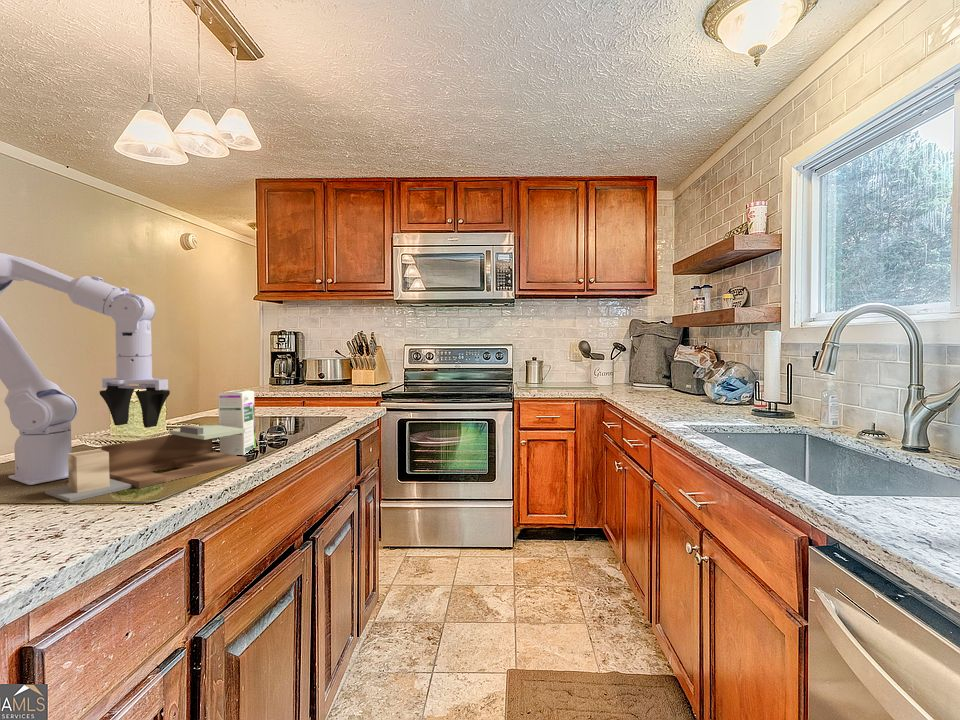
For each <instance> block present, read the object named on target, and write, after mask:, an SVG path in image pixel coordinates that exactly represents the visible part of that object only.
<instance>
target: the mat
mask: <svg viewBox="0 0 960 720" xmlns="http://www.w3.org/2000/svg"><path fill="white" fill-rule="evenodd" d="M128 489H132V484H128V483H124V482H121V481H117V480H113V479H110V486H109V487H104V488H99V489H94V490H89V491H84V492H79V493H77V492H75V491H73V490H72V489H70V488H69V484H68V485H63V486H59V487H54V488H49V489H45V490H44V494H45V495H48V496H51V497H54V498H57V499H60V500H62V501H65V502H68V503H72V502H77V501H82V500H85V499H91V498H94V497H99V496H103V495H107V494H110V493H115V492H119V491H124V490H128Z"/></svg>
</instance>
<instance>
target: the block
mask: <svg viewBox="0 0 960 720" xmlns="http://www.w3.org/2000/svg"><path fill="white" fill-rule="evenodd" d="M68 476H69V478H68V485H69V488H70V489H72V490H73V491H75V492H77V493H79V492H84V491H89V490H94V489H99V488H104V487H109V486H110V479H109V452H107V451H104V450H101V448H98V449H90V450H82V451H76V452H75V451H74V452H72V453H68Z"/></svg>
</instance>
